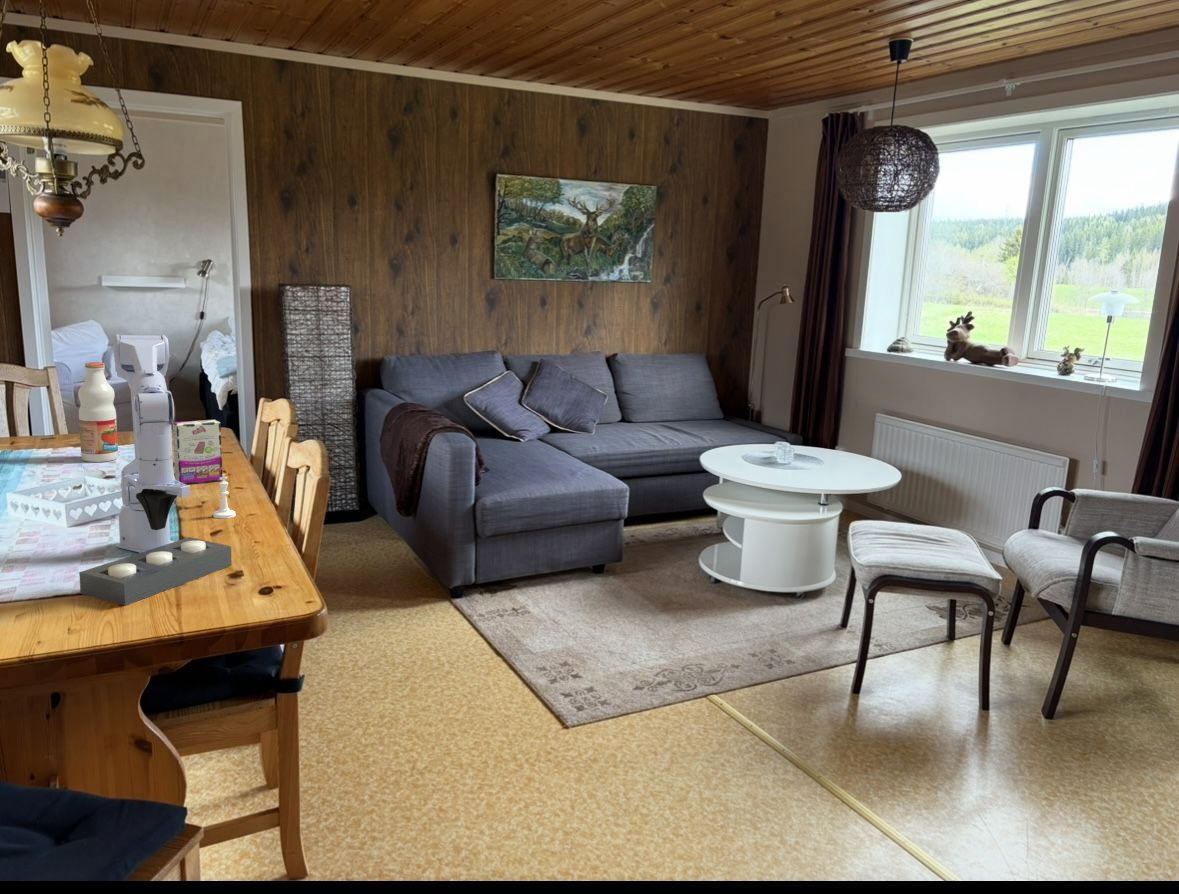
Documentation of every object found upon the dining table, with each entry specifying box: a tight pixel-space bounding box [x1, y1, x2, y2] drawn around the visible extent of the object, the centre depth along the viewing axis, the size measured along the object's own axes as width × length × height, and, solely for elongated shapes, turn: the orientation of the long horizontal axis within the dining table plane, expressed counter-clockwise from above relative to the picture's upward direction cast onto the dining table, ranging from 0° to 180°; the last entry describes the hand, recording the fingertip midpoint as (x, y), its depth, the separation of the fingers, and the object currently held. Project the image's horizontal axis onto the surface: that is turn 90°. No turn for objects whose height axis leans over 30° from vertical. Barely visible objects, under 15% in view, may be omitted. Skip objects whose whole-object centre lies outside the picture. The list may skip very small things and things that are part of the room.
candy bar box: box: [172, 419, 223, 485], centre depth 232 cm, size 11×5×16 cm, turn 129°
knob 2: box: [181, 541, 206, 553], centre depth 170 cm, size 4×4×4 cm
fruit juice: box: [77, 361, 119, 463], centre depth 248 cm, size 9×9×28 cm
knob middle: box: [146, 551, 172, 565], centre depth 163 cm, size 4×4×4 cm
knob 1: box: [108, 563, 136, 578], centre depth 156 cm, size 4×4×4 cm
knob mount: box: [78, 536, 232, 606], centre depth 163 cm, size 11×24×4 cm, turn 158°
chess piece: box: [213, 473, 237, 520], centre depth 204 cm, size 5×5×10 cm
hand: (158, 528), depth 162 cm, fingers closed
